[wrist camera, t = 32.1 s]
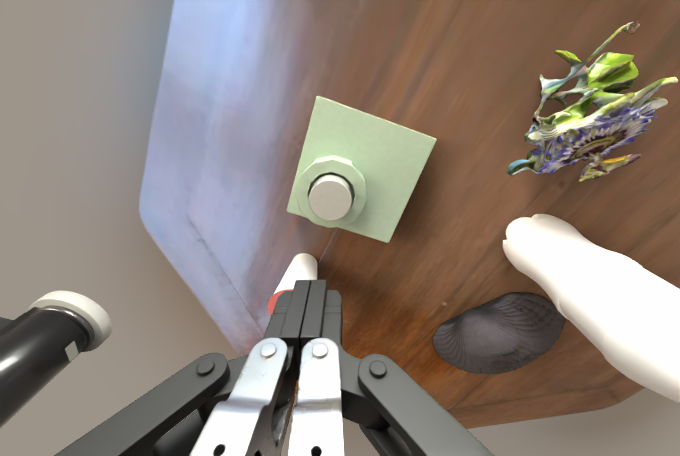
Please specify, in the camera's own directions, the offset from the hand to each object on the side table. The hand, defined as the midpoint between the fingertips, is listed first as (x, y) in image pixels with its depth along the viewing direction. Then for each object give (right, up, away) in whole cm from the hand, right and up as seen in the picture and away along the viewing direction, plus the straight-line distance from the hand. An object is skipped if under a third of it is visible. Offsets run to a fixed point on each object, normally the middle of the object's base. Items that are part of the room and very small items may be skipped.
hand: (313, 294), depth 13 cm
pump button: (0, +7, +14) cm, 15 cm away
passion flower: (+23, +15, +15) cm, 32 cm away
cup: (-3, -2, +24) cm, 25 cm away
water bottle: (+25, +3, +21) cm, 33 cm away
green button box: (+3, +10, +18) cm, 21 cm away
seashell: (+25, -12, +28) cm, 39 cm away
